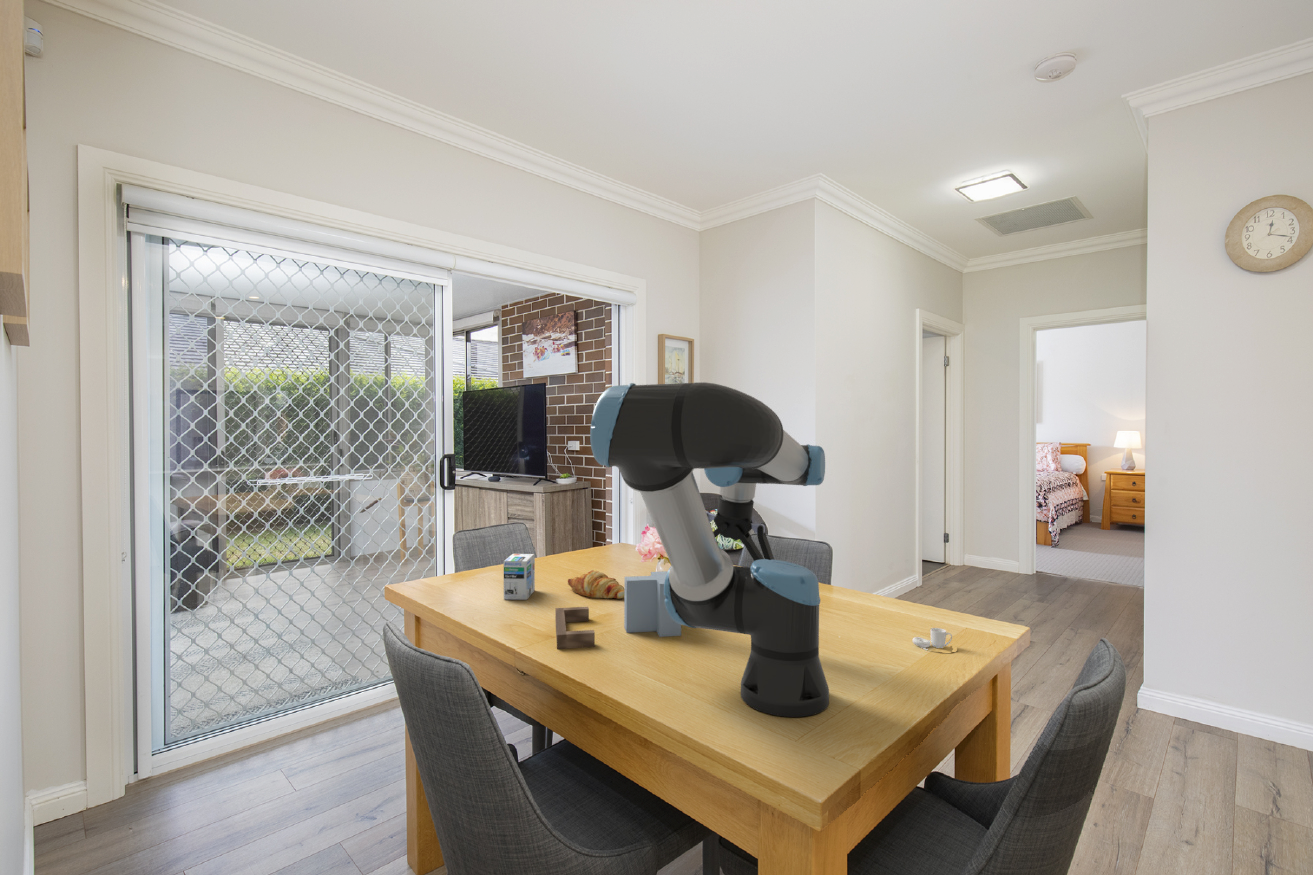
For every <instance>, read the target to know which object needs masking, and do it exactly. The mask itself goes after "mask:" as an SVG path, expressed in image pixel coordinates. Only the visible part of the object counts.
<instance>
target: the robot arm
mask: <svg viewBox="0 0 1313 875" xmlns="http://www.w3.org/2000/svg"><path fill="white" fill-rule="evenodd" d="M591 417H592V418H591V422H590V423H591V424H590V436H589V438H590V448H591V452H592V455H593V458H594V460H595V461H596V462H597V464H598V465H600V466H605V467H606V468H612V467H616V468H618V470H619V472H620V474H621V477H622V479H623V481H624V483H625V484H626V485H627V486H628V487H629V488H630V489H632V490H634V491H637V492H638V493H639V492H640V493H639V494H640V496H641V498H642V500H643V502H644V505H645V507H646V509H647V511H648V514H649V516H650V518H651V522H652V523H653V526H654V528H655V530H656V533H657V535H658V537H659V539H660V541H661V544H662V547H663V548H664V552H665V553H666V555H667V558H668V561H669V562H670V567H669V568H668V570H667V571H668V572H667V574H666V578H665V582H664V595H665V596H666V599H665V606H666V609H667V611H668V614H669V615H670V617H671V618H672V619H673V620H674V621H675V622H676V623H678V624H681V626H686V627H689V628H692V629H705V630H711V631H719V632H726V633H736V634H740V635H741V634H743V635H749V636H750V639H751V640H750V641H751V642H750V654H749V656H748V659H747V663H746V665H745V668H744V671H743V674H742V676H741V681H740V698H741V700H742V701H743V702H744V703H745V704H746V705H747V706H748V707H751V708H752V709H754V710H756V711H759V712H760V713H761V712H762V713H765V714H768V715H772V716H778V717H785V718H802V717H808V716H809V717H810V716H814V715H817V714H820V713H822V712H823V711H825V710H826V709H827V708H828V706H829V704H830V690H829V684H828V682H827V679H826V675H825V672H824V670H823V665H822V663H821V659H820V654H819V653H820V650H819V648H820V604H821V597H820V587H819V586H820V584H819V579H818V576H817V575H816V574H815V573H814V571H812V570H810V569H808V568H807V567H805V566H803V565H800V564H797V563H793V562H789V561H785V560H779V559H775V557H774V554H773V552H772V548H771V546H770V542H769V539H768V536H767V534H766V532H767V531H766V530H767V528H766V527H767V526H766V523H764V522H761V523H753V521H752V517H753V511H754V503H755V502H754V498H755V497H756V489H757V485H758V484H760V485H761V484H764V485H765V484H767V485H768V484H771V485H772V484H773V485H789V486H791V485H792V486H803V487H807V486H820V485H821V484H823V482H824V479H825V474H826V454H825V450H824V448H823V447H822V446H821V445H820V446H819V445H811V444H800V443H799V442H798V441H797V440H795V438H793V437H792V436H791V435H790V434H789V433H788V432H787V431H785V429H784V427H783V423H782V421H781V419H780V417H779V416H778V414H777V413H776V412H775V411H773V409H772V408H770V407H769V406H768V405H767V404H765V402H763V401H761V400H759V399H757V398H755V397H754V396H752V395H749V394H747V393H744V392H743V391H740V390H738V389H736V388H732V387H730V386H726V385H722V384H718V383H713V382H705V381H704V382H682V383H680V382H679V383H659V384H658V383H656V384H636V383H635V382H631V383H629V384H626V385H625V384H623V385H613V386H610V387H608V388H606V389H605V390H604V391H603V392H602V393H601V395H600V396H599V397H598V400H597V401H596V403H595V406H594V409H593V412H592V416H591ZM696 469H703V471H704V474H705V476H706V479H708V481H709V482H710V483H711V484H713V485H714V486H716V487H719V494H720V495H719V497H718V503H717V512H716V514H714V513H711V511H710V510H706V508H705V507H706V506H705V505H704V502H703V498H702V495H701V492H700V489H699V487H698V484H697V481H696V478H695V475H694V470H696ZM713 521H714V523H715V526H716V527H717V528H716V529H714V530H713V529H712V526H711V522H713ZM751 530H753V531H754V534H755V535H757V536H756V537H757V540H758V543H759V546H760V549H759V548H758V546H757V545H756V543H755V542H754V540H753V537H752V535H751V534H750V532H751ZM719 535H721V536H722V537H723V538H725V539H732V540H733V541H738V540H739V541H740V542H741V543H742V544H743V545H744V547H745V549H746V550H747V552H748V554H750V557H751V558H752V559H753V562H752V563H751V564H750V567H747V566H739V565H734V563H733V561H732V559H731V556H730V555H729V554H728V553H727V552H726V550H724V549H723V548H720V547H719V546H718V542H717V540H716V538H717V537H718V536H719ZM760 550H761V551H760ZM761 552H762V553H761Z"/></svg>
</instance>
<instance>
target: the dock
mask: <svg viewBox="0 0 1313 875" xmlns="http://www.w3.org/2000/svg"><path fill="white" fill-rule="evenodd" d="M589 610H590V609H589V606H577V607H576V606H575V607H574V606H573V607H571V606H570V607H555V613H554V614H555V616H554V618H555V620H554V621H555V637H556V648H557V650H562V649H564V650H565V649H576V648H577V649H578V648H580V649H581V648H582V649H583V648H594V647H596V646H595V644H596V642H595V641H596V640H595V635H596V634H595V630H594V629H588V630H587V629H585V630H571V631H570V630H569V631H567V627H566V623H578V622H579V623H580V622H581V623H582V622H589V621H590V620H589V619H590V617H589V616H590V615H589V614H590V611H589Z"/></svg>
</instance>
